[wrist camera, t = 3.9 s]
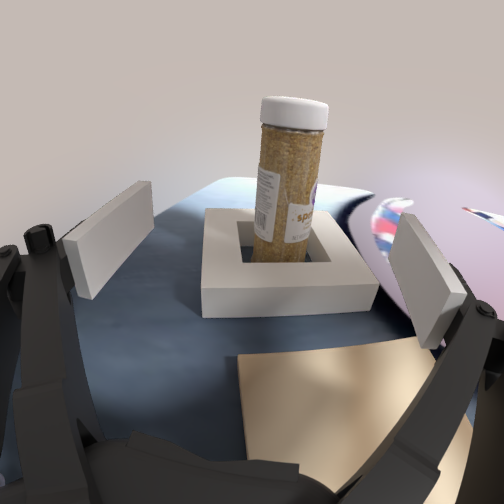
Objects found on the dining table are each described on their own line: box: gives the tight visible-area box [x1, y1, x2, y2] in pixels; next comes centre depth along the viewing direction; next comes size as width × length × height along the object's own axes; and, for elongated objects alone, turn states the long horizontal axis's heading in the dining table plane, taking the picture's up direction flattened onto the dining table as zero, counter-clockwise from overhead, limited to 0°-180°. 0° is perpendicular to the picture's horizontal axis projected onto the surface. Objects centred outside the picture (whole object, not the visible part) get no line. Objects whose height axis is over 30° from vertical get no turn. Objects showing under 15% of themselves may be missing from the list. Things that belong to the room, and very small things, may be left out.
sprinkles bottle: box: [251, 96, 329, 263], centre depth 22 cm, size 5×5×13 cm
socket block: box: [201, 208, 380, 318], centre depth 25 cm, size 12×12×2 cm
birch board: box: [237, 336, 473, 504], centre depth 12 cm, size 12×12×1 cm
